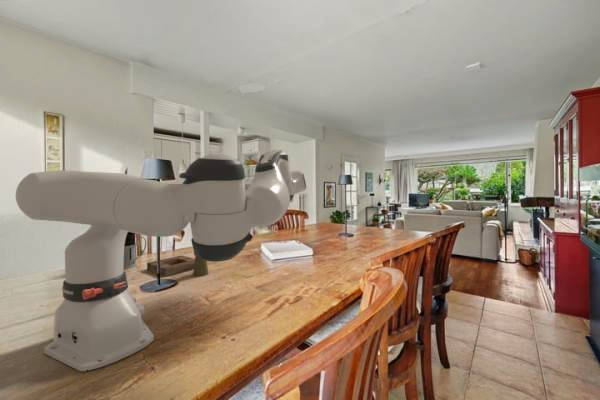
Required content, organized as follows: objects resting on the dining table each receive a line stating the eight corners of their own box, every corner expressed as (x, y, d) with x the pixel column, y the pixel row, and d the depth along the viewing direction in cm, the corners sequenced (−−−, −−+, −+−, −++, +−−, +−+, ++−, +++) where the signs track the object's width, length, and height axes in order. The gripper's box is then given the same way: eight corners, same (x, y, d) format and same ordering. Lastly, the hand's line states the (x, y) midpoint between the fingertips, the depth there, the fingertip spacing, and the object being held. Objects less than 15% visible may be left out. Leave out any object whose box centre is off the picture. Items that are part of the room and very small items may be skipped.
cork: (211, 274, 110) (211, 247, 110) (197, 277, 106) (196, 250, 105) (204, 271, 114) (204, 245, 114) (190, 274, 110) (190, 247, 110)
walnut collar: (201, 267, 120) (201, 260, 120) (166, 276, 107) (166, 269, 106) (181, 261, 129) (181, 255, 129) (147, 269, 116) (147, 262, 116)
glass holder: (124, 263, 125) (123, 231, 124) (152, 264, 124) (152, 232, 123) (109, 268, 116) (108, 234, 116) (139, 270, 115) (139, 235, 114)
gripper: (256, 195, 93) (220, 202, 95) (273, 196, 113) (243, 202, 115) (253, 178, 93) (217, 185, 95) (271, 181, 113) (240, 187, 115)
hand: (231, 194), depth 105 cm, fingers open, 8 cm apart
